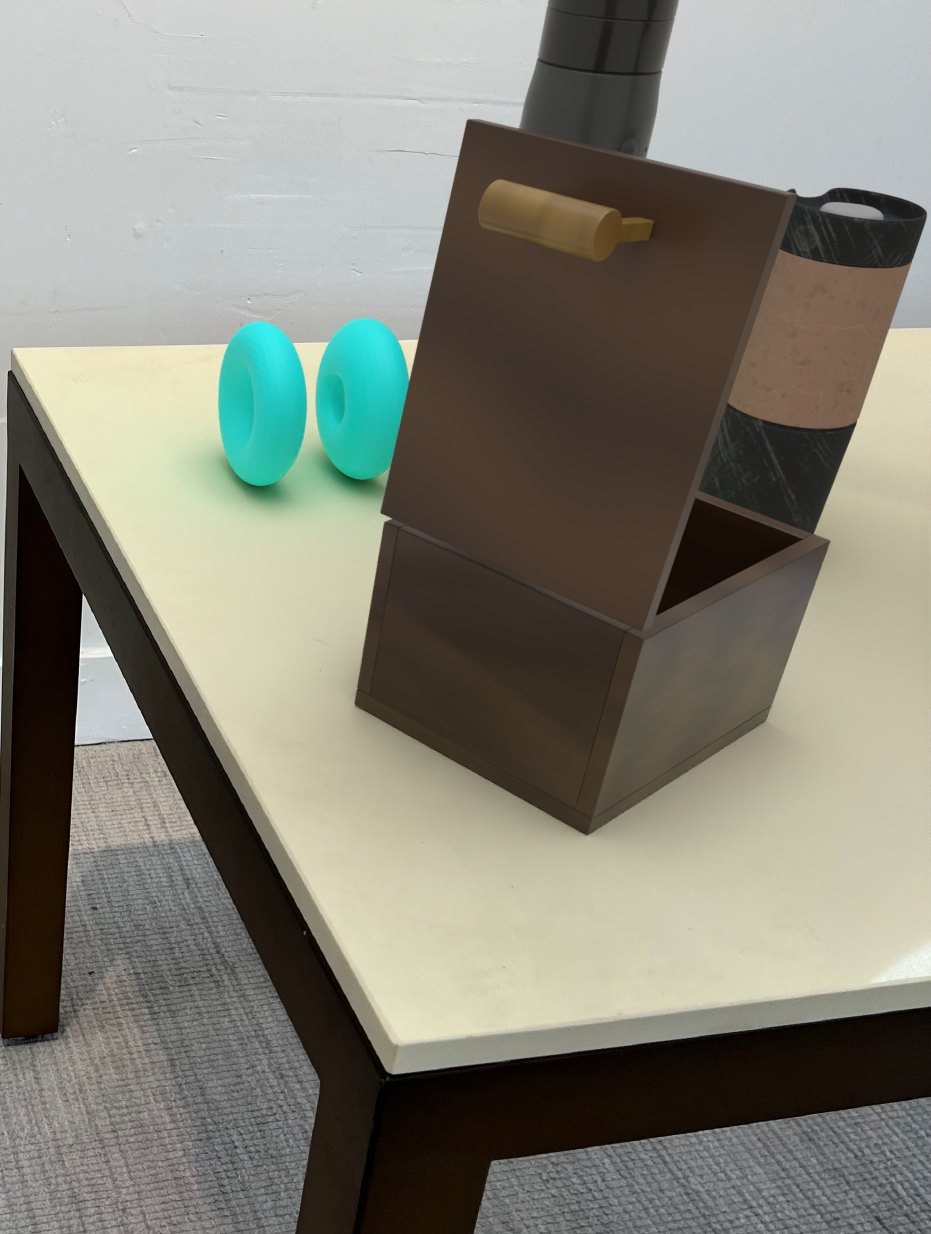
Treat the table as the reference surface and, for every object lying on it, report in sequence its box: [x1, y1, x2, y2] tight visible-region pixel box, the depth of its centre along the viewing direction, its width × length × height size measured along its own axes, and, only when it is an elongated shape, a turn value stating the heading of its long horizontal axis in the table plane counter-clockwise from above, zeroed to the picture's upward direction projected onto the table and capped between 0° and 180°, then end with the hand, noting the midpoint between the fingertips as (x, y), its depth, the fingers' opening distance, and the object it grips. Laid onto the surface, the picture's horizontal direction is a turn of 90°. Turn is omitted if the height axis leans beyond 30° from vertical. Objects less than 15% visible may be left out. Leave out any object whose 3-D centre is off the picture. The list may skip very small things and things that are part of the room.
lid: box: [380, 118, 798, 631], centre depth 58 cm, size 17×14×5 cm
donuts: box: [217, 317, 410, 487], centre depth 94 cm, size 10×10×10 cm
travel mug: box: [698, 187, 928, 534], centre depth 86 cm, size 8×8×20 cm
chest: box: [354, 491, 831, 835], centre depth 71 cm, size 16×14×10 cm
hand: (522, 423), depth 97 cm, fingers closed on lemon, 5 cm apart
